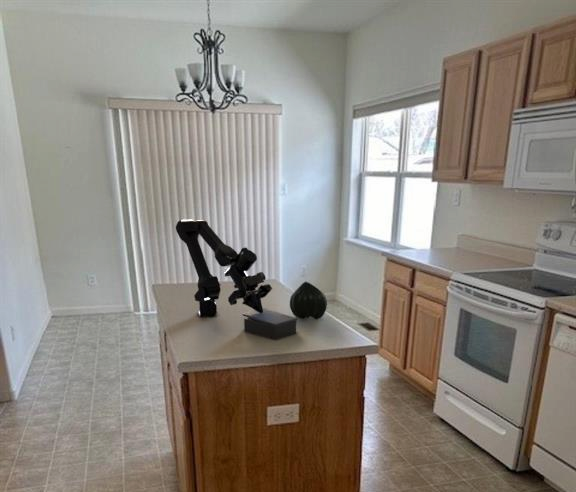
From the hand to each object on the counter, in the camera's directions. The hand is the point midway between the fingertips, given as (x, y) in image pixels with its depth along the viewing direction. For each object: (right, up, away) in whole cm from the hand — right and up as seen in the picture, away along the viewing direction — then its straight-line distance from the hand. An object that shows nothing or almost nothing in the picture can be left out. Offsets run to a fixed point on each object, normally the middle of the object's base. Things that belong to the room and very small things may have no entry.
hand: (261, 312), depth 198 cm
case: (+3, -7, 0) cm, 8 cm away
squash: (+18, 0, +20) cm, 27 cm away
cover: (+3, -2, -2) cm, 4 cm away
